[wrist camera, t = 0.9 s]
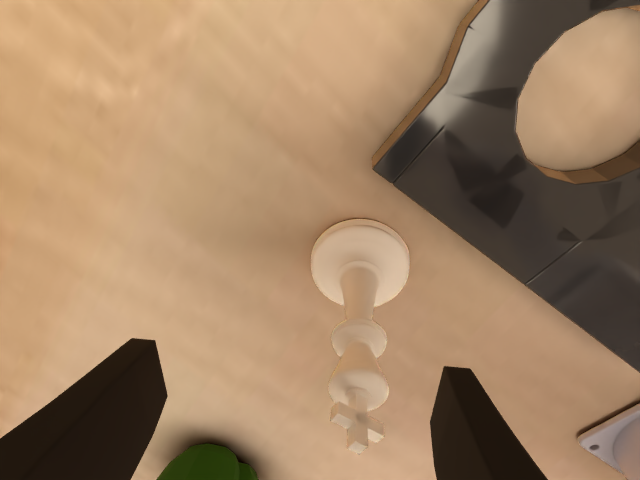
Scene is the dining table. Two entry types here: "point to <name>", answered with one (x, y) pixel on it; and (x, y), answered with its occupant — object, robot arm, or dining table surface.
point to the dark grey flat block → (524, 173)
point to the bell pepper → (207, 465)
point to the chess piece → (359, 317)
